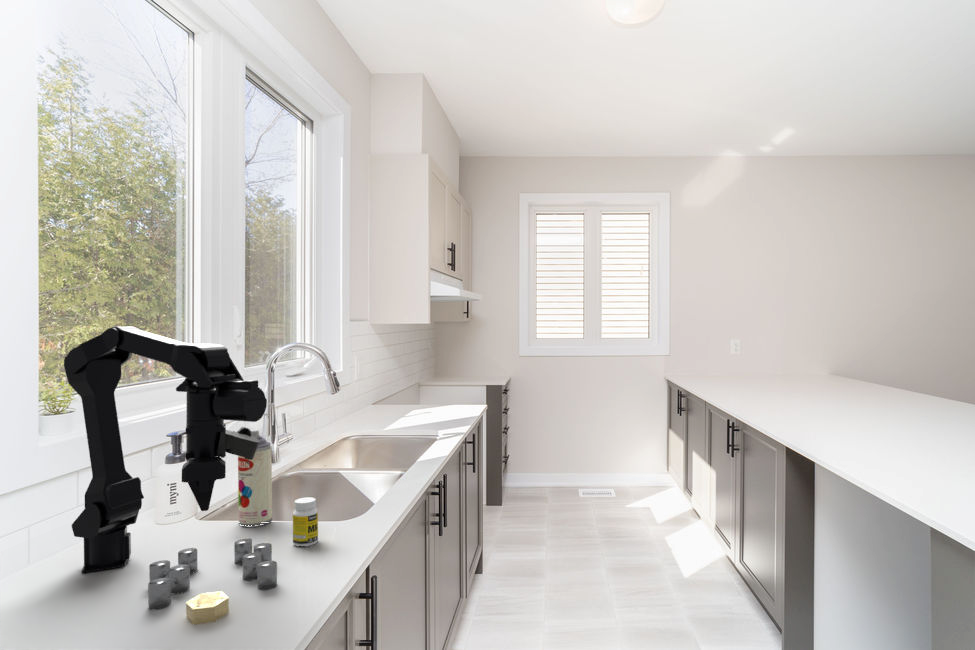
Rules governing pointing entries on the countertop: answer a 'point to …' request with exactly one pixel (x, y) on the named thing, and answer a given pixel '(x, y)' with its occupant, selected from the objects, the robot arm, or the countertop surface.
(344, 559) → the countertop surface
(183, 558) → the spacers
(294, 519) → the supplement bottle
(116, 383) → the robot arm
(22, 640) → the countertop surface
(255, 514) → the aerosol can
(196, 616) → the wooden star-faceted hexagon
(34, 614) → the countertop surface
